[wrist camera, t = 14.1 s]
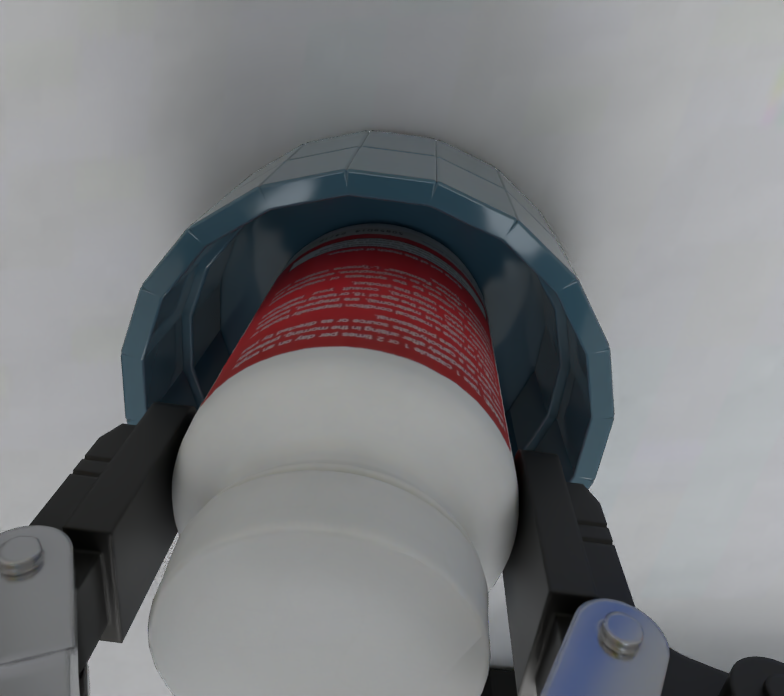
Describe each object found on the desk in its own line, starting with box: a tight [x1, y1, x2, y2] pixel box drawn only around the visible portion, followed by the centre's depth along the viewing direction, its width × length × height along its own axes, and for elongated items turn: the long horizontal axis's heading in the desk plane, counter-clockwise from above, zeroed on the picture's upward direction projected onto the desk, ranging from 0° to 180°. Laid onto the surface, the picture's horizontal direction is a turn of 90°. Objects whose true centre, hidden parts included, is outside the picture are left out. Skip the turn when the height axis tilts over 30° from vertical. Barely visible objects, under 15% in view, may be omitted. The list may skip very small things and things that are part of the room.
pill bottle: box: [148, 223, 519, 696], centre depth 14 cm, size 6×6×11 cm
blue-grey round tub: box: [121, 130, 614, 489], centre depth 17 cm, size 11×11×6 cm
